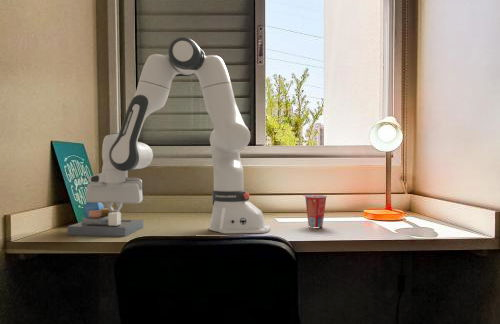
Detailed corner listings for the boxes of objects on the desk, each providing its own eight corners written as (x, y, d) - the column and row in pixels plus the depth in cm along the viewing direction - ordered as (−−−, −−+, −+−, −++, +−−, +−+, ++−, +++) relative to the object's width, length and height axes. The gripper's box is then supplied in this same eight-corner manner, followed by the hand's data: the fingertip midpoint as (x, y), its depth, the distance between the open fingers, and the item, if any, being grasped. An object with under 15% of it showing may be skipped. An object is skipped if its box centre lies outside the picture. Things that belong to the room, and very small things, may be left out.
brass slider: (112, 219, 136) (112, 208, 136) (108, 220, 133) (108, 209, 133) (104, 219, 136) (104, 208, 136) (100, 220, 133) (100, 209, 133)
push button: (103, 217, 131) (103, 210, 131) (97, 219, 127) (97, 211, 127) (92, 217, 131) (92, 210, 131) (86, 218, 127) (86, 211, 127)
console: (143, 227, 137) (143, 214, 137) (125, 236, 121) (125, 221, 121) (92, 226, 139) (92, 213, 139) (67, 235, 123) (67, 220, 123)
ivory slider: (120, 224, 126) (120, 212, 126) (117, 225, 123) (117, 213, 123) (112, 223, 126) (112, 212, 126) (108, 225, 123) (108, 213, 123)
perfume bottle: (82, 224, 143) (82, 194, 143) (89, 222, 149) (89, 192, 149) (98, 224, 143) (98, 194, 143) (104, 222, 149) (104, 192, 149)
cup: (325, 225, 143) (325, 194, 143) (328, 229, 135) (328, 196, 135) (301, 224, 144) (301, 194, 144) (302, 228, 136) (302, 196, 136)
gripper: (145, 177, 136) (145, 214, 137) (92, 176, 138) (92, 213, 138) (139, 178, 130) (138, 217, 130) (83, 177, 132) (83, 215, 132)
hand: (114, 215), depth 134 cm, fingers closed
